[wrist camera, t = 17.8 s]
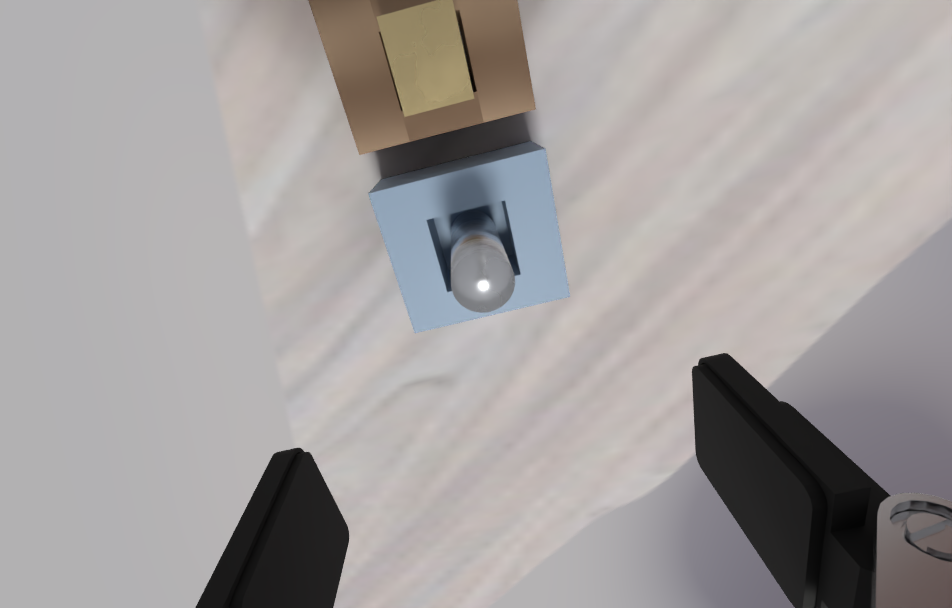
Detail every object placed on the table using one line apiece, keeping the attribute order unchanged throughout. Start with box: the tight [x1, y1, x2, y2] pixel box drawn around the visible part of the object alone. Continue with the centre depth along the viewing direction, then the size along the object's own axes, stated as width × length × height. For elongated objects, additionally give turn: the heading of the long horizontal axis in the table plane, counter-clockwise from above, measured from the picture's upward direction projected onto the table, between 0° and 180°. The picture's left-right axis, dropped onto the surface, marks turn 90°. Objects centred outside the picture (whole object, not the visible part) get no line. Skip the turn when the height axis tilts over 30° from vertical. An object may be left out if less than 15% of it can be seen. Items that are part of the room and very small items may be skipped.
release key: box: [377, 0, 474, 117], centre depth 24 cm, size 4×4×5 cm
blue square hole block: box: [368, 141, 570, 333], centre depth 29 cm, size 9×10×5 cm
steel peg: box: [451, 210, 515, 313], centre depth 26 cm, size 3×3×10 cm
